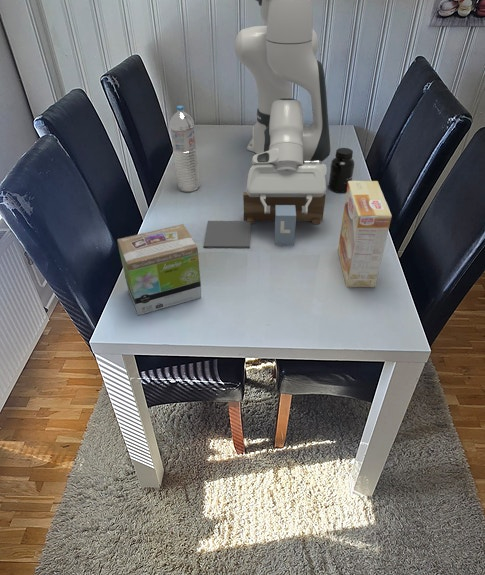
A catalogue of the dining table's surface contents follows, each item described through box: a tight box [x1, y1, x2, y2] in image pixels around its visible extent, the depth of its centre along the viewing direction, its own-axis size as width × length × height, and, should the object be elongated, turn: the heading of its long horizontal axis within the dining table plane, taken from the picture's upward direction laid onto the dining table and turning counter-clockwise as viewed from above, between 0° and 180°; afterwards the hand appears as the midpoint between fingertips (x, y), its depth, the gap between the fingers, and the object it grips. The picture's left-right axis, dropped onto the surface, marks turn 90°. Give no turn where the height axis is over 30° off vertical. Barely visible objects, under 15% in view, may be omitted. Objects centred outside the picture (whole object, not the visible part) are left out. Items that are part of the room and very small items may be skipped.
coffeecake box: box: [337, 180, 393, 288], centre depth 102 cm, size 15×7×20 cm, turn 178°
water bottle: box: [169, 104, 200, 193], centre depth 132 cm, size 7×7×25 cm
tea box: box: [117, 223, 202, 316], centre depth 98 cm, size 15×10×15 cm, turn 114°
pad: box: [203, 220, 252, 249], centre depth 120 cm, size 12×12×1 cm
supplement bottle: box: [328, 147, 355, 194], centre depth 134 cm, size 7×7×12 cm
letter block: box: [274, 205, 297, 246], centre depth 115 cm, size 5×5×9 cm
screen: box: [242, 191, 327, 225], centre depth 123 cm, size 5×22×8 cm, turn 88°
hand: (285, 213), depth 113 cm, fingers open, 8 cm apart
